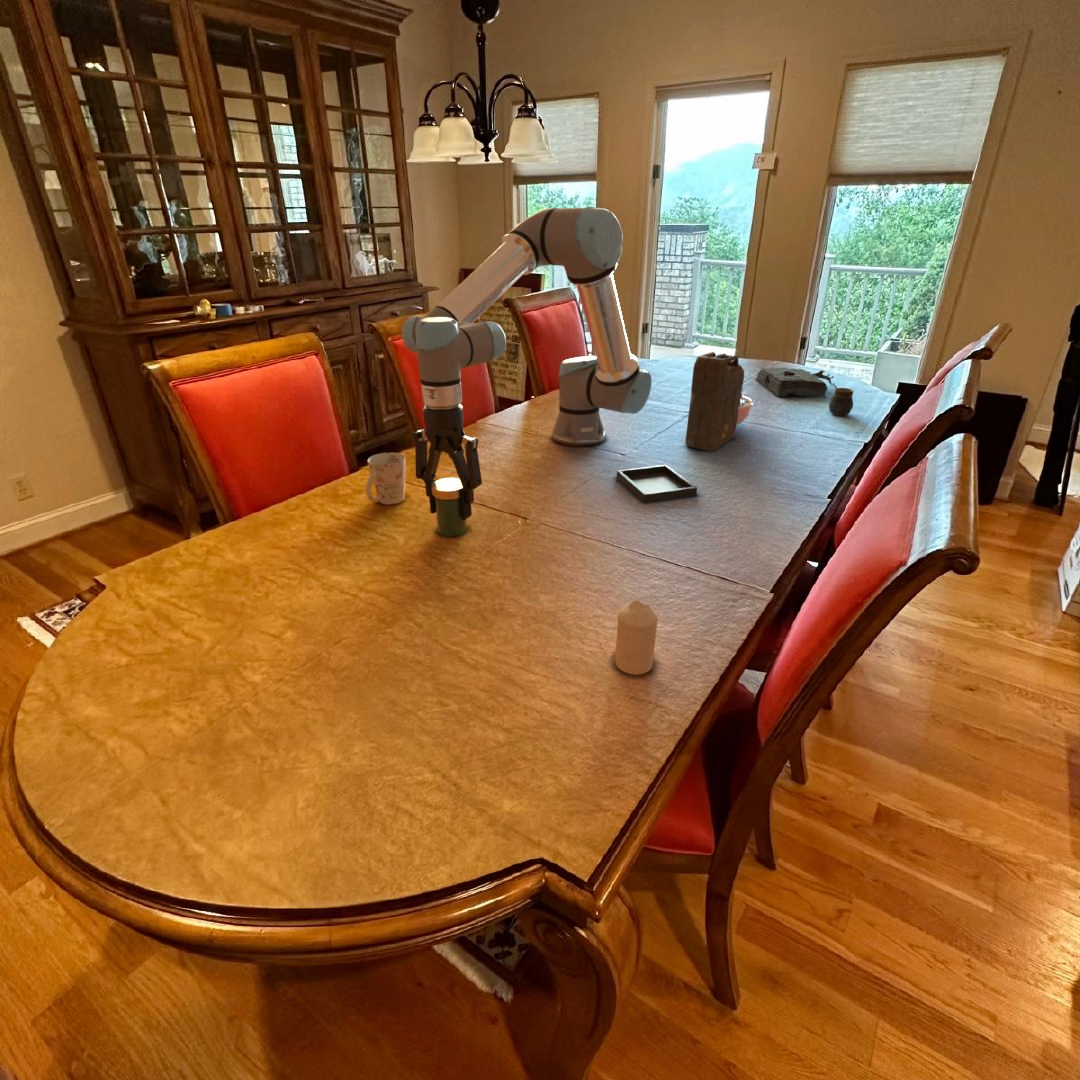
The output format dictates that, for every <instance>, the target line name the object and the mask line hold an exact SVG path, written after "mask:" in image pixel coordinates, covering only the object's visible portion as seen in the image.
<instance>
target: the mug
mask: <svg viewBox="0 0 1080 1080" xmlns="http://www.w3.org/2000/svg"><path fill="white" fill-rule="evenodd" d="M406 459H407V458H406V456H405V455H404V454H403V453H399V452H381V453H377V454H373V455H371V456H370V457H368V459H367V465H368V469H369V473H370V475H369V476H368V478H367V481H366V486H365V491H366V496H367V499H368V501H369V502H372V503H377V502H378V503H381V504H383V505H397V504H400V503H402V502H403V501H404V500H405V498H406V464H407V463H406ZM372 483H373V486H374V490H375V495H376V497H374V495H373V494H372V489H371V488H372Z"/></svg>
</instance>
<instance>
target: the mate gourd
mask: <svg viewBox="0 0 1080 1080" xmlns="http://www.w3.org/2000/svg"><path fill="white" fill-rule="evenodd" d="M831 383H832V385H833V387H834V388H835V389H834V392H833V395H832V396H831V397H830V399H829V401H828V402H829V403H828V410H829V412H830V413H831V414H832V415H834V416H840V417H845V416H848V414H850V413H851V411H852V410H853V407H854V399H853V395H854V391H855V390H853V389H852V388H848V387H837V386H836V385H835V383H834V382H831Z"/></svg>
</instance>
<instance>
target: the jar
mask: <svg viewBox="0 0 1080 1080" xmlns="http://www.w3.org/2000/svg"><path fill="white" fill-rule="evenodd" d="M435 504H436V512H435V514H436V524H437V525H436V526H437V533H438V534H439V535H441V536H444V537H457V536H461V535H464V534H465V533H466V532H467V527H468V526H467V519H466V520H462V516H461V501H460V498H457V499H452V500H443V499H438V498H435Z"/></svg>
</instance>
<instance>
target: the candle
mask: <svg viewBox="0 0 1080 1080" xmlns="http://www.w3.org/2000/svg"><path fill="white" fill-rule="evenodd" d="M658 616H659V615H658V613H657V612H656V611H655V610H654V609H653V608H652V607H651V605H650V604H645V603H643V602H642V601H640V600H633V601H631V602H630V603H628V604H626V605H624V606H623V607H621V608H620V609H619V611H618V613H617V625H616V626H617V627H616V639H615V641H616V642H615V654H614V657H615V658H614V659H615V660H614V661H615V665H616V667H617V669H619V670H620V671H622V672H623V673H626V674H629V675H634V676H635V675H636V676H638V675H644V674H646V673H648V672H650V670H652V667H653V663H654V656H655V645H656V637H657V627H658Z"/></svg>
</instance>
